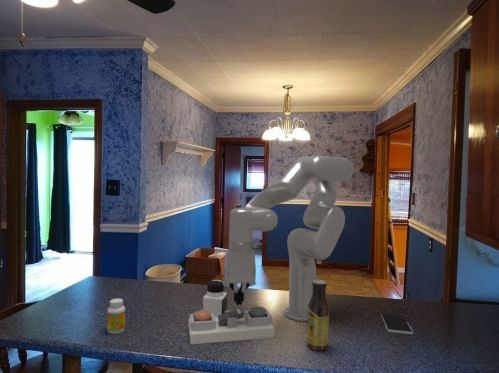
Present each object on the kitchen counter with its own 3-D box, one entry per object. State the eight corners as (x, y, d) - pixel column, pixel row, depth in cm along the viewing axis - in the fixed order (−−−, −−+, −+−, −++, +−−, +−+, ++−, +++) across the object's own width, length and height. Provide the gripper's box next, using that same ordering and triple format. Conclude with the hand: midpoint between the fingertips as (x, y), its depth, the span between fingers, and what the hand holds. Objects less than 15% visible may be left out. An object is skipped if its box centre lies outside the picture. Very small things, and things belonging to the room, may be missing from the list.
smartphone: (403, 314, 131) (413, 331, 116) (403, 318, 131) (413, 335, 116) (380, 312, 132) (387, 329, 118) (380, 315, 132) (387, 332, 118)
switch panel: (264, 322, 124) (265, 305, 123) (274, 337, 112) (274, 319, 112) (188, 327, 118) (188, 310, 118) (190, 344, 106) (190, 325, 106)
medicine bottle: (221, 318, 126) (222, 285, 125) (202, 316, 127) (203, 283, 127) (227, 311, 133) (227, 279, 132) (208, 309, 134) (209, 277, 134)
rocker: (241, 312, 118) (240, 307, 118) (244, 317, 114) (243, 312, 114) (218, 320, 116) (217, 315, 116) (220, 325, 112) (218, 320, 112)
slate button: (263, 313, 120) (263, 306, 120) (267, 319, 115) (267, 311, 115) (248, 314, 119) (248, 306, 119) (252, 320, 114) (252, 312, 114)
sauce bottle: (305, 341, 110) (306, 277, 109) (325, 342, 110) (327, 277, 109) (308, 351, 103) (309, 283, 103) (329, 352, 103) (331, 284, 102)
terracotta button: (209, 316, 116) (209, 309, 116) (211, 323, 111) (211, 315, 111) (194, 318, 115) (194, 310, 115) (195, 324, 110) (195, 316, 110)
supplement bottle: (108, 335, 112) (108, 304, 111) (106, 328, 116) (106, 299, 116) (126, 332, 114) (126, 301, 114) (123, 325, 119) (123, 296, 118)
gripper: (260, 244, 120) (258, 298, 120) (216, 244, 117) (214, 300, 117) (266, 249, 113) (263, 306, 113) (219, 249, 109) (216, 308, 110)
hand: (238, 303), depth 115 cm, fingers closed
